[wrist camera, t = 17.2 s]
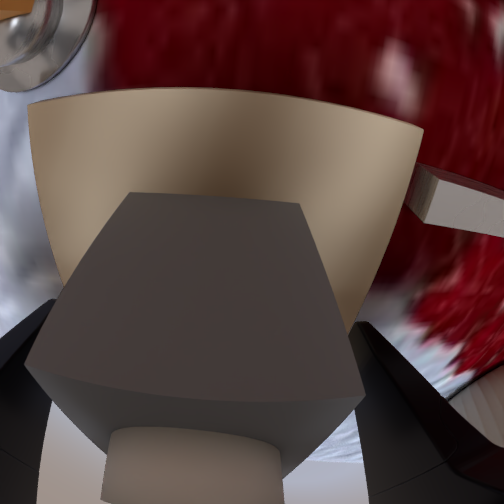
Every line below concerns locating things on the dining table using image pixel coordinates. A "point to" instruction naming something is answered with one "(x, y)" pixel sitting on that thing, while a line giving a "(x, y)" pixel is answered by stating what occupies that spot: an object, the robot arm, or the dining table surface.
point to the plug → (199, 349)
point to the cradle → (72, 36)
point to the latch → (15, 8)
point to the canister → (484, 405)
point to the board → (226, 167)
